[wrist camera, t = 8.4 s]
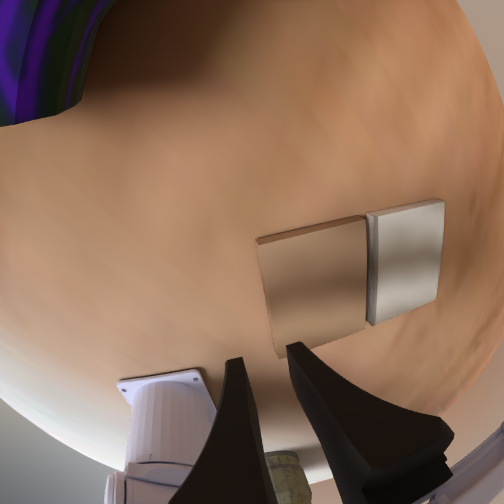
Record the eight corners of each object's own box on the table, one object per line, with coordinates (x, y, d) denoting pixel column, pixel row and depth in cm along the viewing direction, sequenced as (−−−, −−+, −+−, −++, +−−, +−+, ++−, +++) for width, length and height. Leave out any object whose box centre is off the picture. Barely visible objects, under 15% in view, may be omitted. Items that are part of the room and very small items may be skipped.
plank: (358, 321, 24) (364, 329, 23) (274, 350, 23) (278, 359, 22) (357, 215, 20) (365, 219, 19) (254, 239, 19) (258, 245, 18)
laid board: (428, 293, 25) (435, 299, 24) (365, 319, 24) (372, 326, 23) (435, 198, 21) (444, 201, 20) (366, 213, 20) (374, 217, 19)
